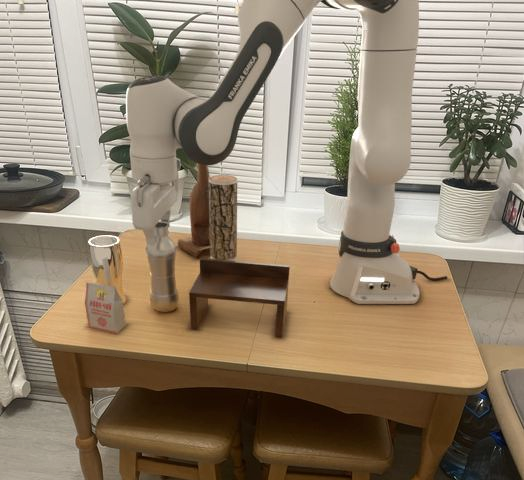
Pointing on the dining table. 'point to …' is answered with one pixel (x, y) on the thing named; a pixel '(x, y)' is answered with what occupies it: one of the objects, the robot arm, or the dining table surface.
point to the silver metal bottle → (162, 270)
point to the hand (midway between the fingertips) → (158, 235)
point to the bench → (240, 287)
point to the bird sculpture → (198, 215)
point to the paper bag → (104, 308)
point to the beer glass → (107, 262)
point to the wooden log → (223, 217)
